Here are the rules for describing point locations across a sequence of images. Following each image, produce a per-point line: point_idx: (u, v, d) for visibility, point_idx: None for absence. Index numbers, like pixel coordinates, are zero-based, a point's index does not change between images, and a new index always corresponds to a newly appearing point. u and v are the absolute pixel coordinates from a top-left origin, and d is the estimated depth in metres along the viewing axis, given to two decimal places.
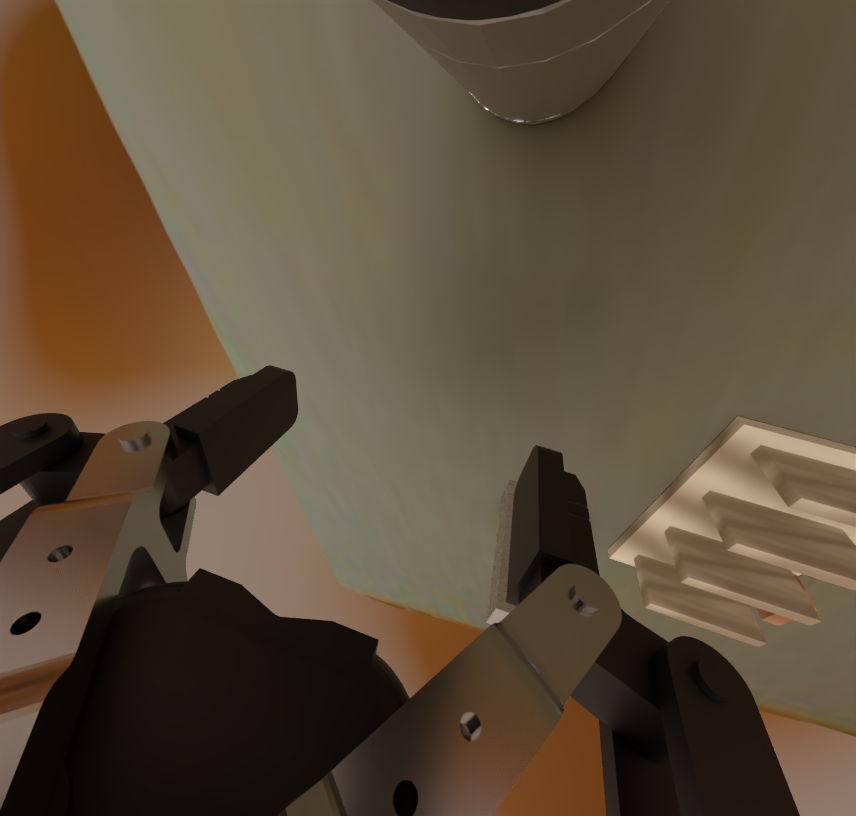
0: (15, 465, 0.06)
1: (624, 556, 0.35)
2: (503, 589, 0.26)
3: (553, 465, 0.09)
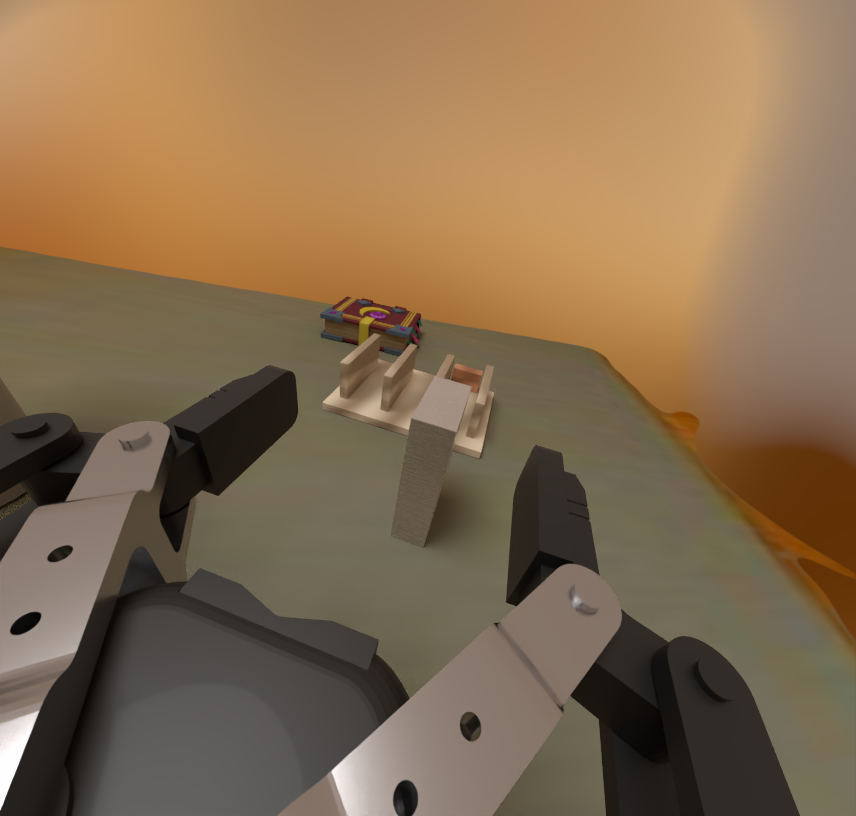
0: (15, 466, 0.06)
1: (473, 443, 0.38)
2: None
3: (553, 465, 0.09)
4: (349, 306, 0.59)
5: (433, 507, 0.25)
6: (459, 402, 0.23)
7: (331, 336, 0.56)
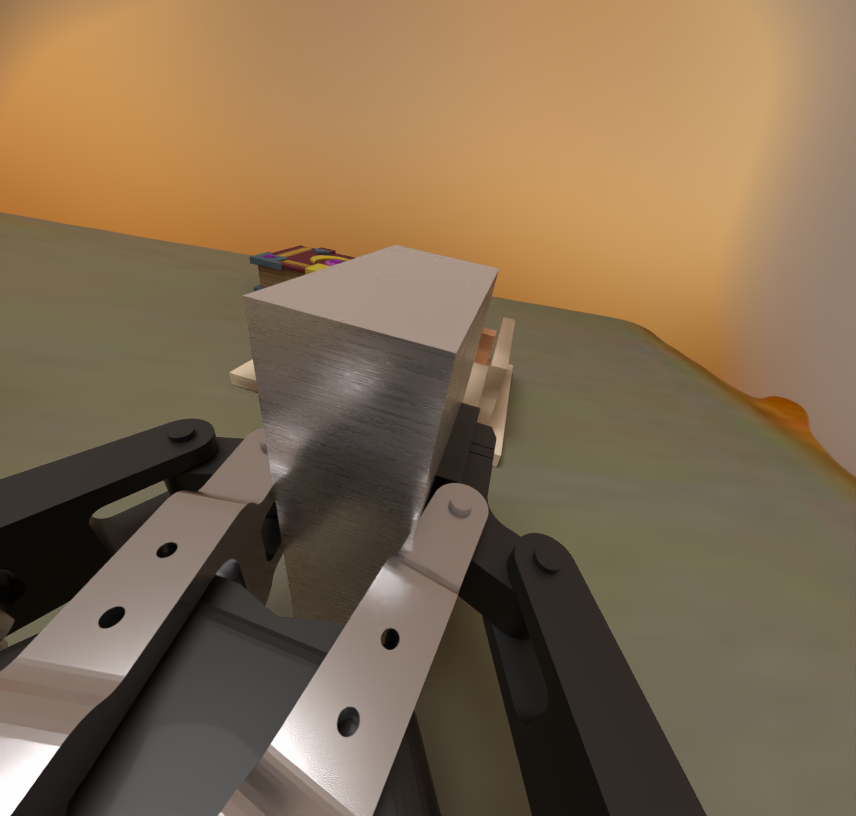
0: (154, 469, 0.07)
1: None
2: None
3: (468, 416, 0.10)
4: (299, 253, 0.42)
5: None
6: (466, 286, 0.07)
7: None
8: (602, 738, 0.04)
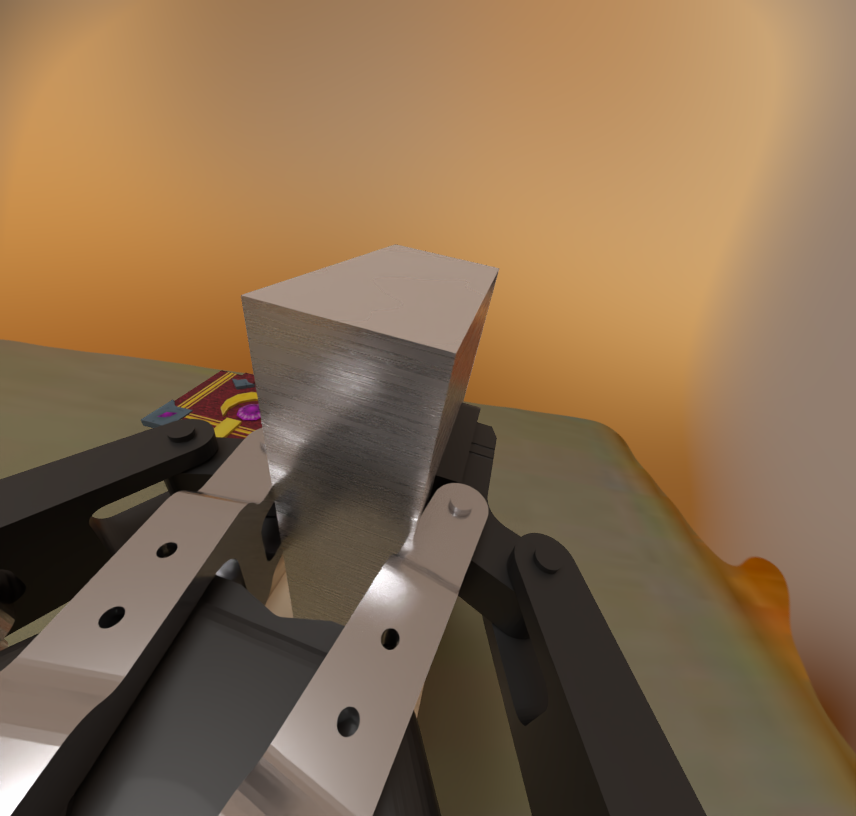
0: (154, 469, 0.07)
1: None
2: None
3: (468, 416, 0.10)
4: (212, 392, 0.37)
5: None
6: (466, 285, 0.07)
7: None
8: (602, 738, 0.04)
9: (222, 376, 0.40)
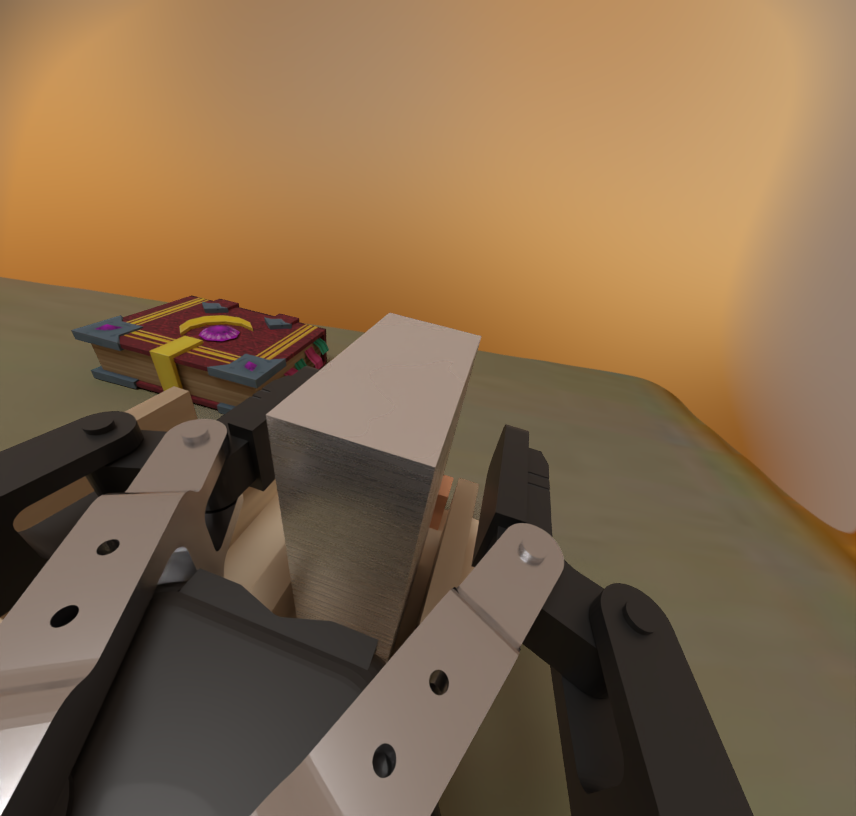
0: (79, 462, 0.06)
1: None
2: None
3: (518, 441, 0.09)
4: (174, 313, 0.30)
5: (386, 649, 0.10)
6: (449, 369, 0.08)
7: (112, 377, 0.26)
8: None
9: (191, 300, 0.32)
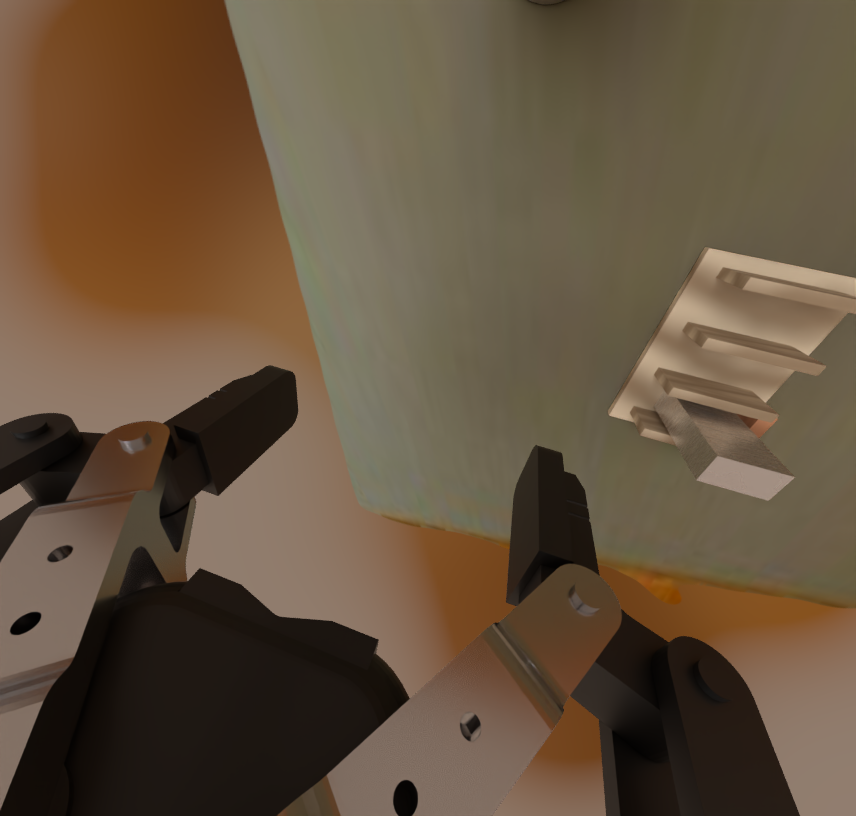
0: (15, 465, 0.06)
1: (621, 411, 0.42)
2: (714, 446, 0.29)
3: (553, 465, 0.09)
4: None
5: (668, 431, 0.36)
6: (739, 488, 0.29)
7: None
8: None
9: None
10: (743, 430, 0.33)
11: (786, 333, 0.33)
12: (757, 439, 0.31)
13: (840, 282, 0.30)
